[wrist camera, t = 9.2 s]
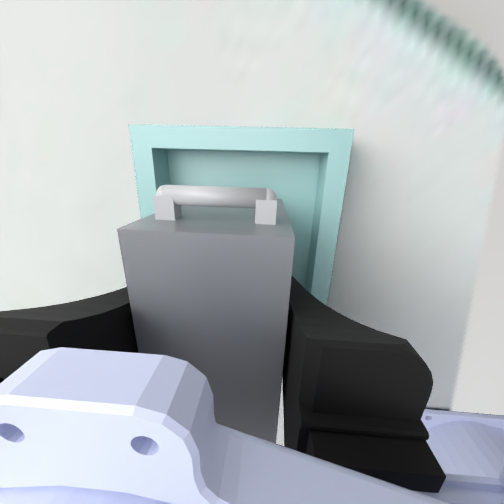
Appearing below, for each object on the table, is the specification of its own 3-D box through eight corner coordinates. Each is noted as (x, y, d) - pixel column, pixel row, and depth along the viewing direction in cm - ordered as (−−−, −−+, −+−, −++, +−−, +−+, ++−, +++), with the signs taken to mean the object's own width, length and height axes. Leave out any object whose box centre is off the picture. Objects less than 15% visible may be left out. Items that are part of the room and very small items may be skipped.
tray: (339, 135, 13) (354, 128, 11) (310, 342, 18) (316, 369, 16) (152, 131, 14) (128, 124, 11) (173, 332, 18) (159, 357, 16)
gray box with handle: (282, 178, 12) (299, 195, 5) (271, 339, 16) (273, 467, 9) (195, 175, 12) (109, 188, 6) (203, 334, 16) (156, 455, 9)
